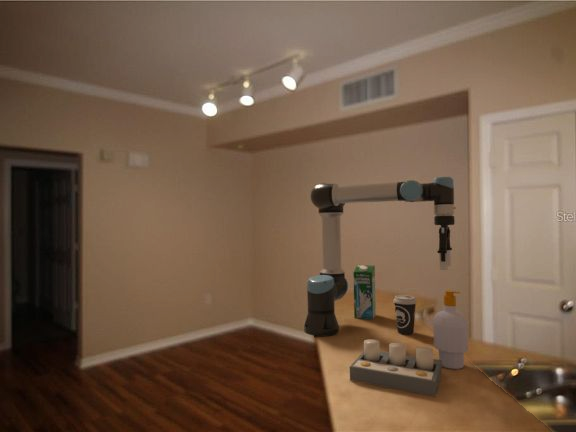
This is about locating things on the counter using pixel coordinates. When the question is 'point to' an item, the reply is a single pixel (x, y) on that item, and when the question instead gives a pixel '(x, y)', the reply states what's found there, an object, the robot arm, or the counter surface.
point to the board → (397, 374)
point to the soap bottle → (451, 333)
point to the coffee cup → (405, 313)
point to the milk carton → (364, 292)
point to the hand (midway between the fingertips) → (445, 267)
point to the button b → (397, 354)
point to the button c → (424, 358)
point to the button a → (371, 350)
